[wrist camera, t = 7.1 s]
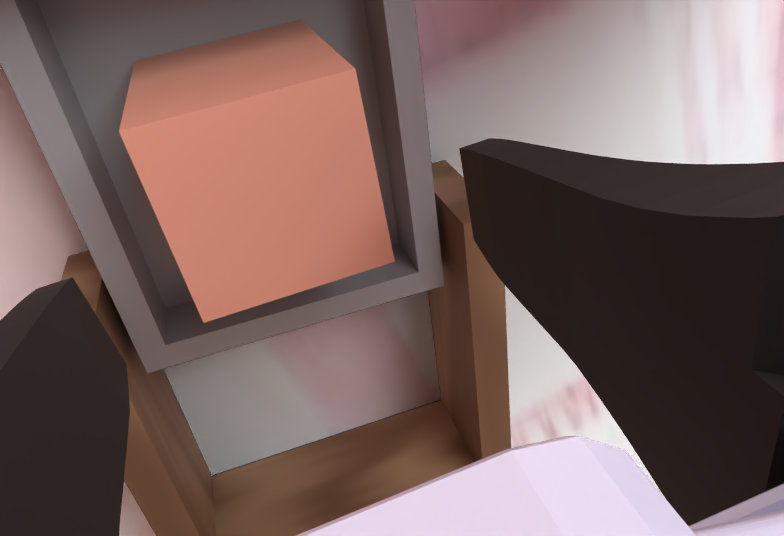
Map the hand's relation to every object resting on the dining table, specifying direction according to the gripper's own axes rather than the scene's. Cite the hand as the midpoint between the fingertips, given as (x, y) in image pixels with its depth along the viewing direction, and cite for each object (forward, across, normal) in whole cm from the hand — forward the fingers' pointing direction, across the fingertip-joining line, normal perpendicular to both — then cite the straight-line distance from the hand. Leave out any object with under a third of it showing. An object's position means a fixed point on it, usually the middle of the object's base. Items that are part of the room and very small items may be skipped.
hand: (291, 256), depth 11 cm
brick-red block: (+8, 0, 0) cm, 8 cm away
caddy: (+9, +1, +8) cm, 12 cm away
